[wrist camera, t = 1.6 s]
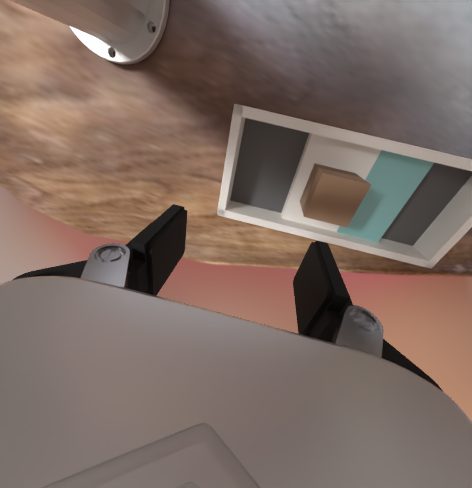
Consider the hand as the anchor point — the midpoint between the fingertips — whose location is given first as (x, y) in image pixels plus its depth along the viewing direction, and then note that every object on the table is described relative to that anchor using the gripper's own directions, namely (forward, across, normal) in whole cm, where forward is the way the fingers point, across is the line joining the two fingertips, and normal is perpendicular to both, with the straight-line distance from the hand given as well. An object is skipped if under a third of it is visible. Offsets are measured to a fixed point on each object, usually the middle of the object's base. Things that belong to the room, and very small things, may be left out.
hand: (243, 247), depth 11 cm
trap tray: (+20, -10, 0) cm, 22 cm away
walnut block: (+18, -8, 0) cm, 20 cm away
